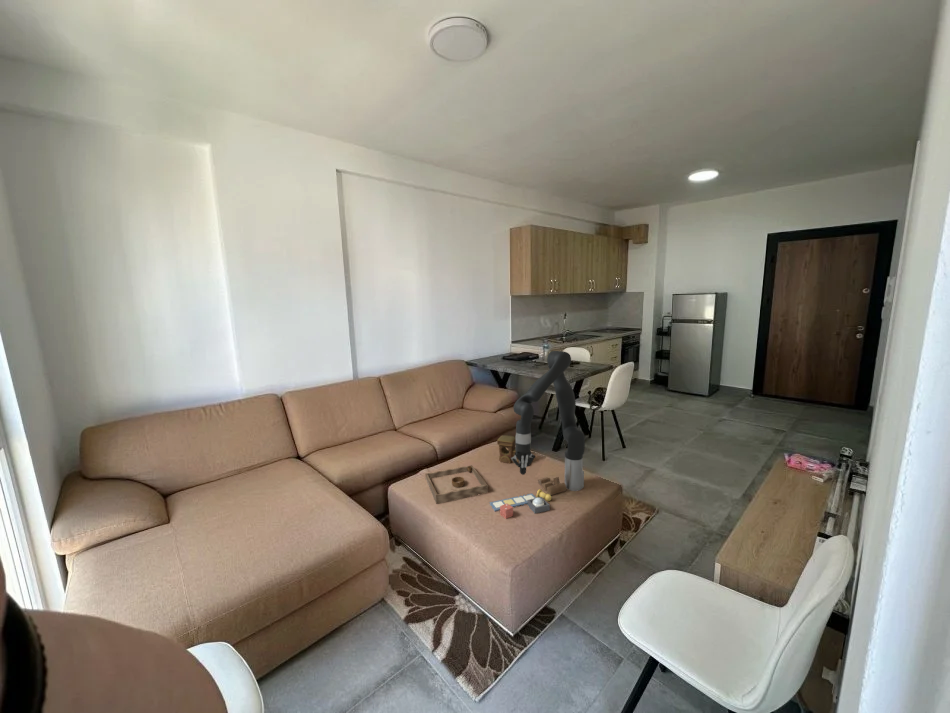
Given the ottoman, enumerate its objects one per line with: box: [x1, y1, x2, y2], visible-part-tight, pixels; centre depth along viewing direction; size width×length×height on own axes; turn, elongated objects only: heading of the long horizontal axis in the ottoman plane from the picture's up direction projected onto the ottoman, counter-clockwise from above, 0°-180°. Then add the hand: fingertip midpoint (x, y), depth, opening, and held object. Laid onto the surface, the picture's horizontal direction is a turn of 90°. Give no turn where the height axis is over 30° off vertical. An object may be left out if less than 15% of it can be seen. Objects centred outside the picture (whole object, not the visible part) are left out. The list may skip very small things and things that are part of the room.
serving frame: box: [424, 465, 489, 505], centre depth 207 cm, size 28×26×5 cm
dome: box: [533, 497, 544, 507], centre depth 185 cm, size 6×6×5 cm
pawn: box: [535, 488, 552, 502], centre depth 193 cm, size 4×4×7 cm
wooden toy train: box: [496, 434, 531, 467], centre depth 233 cm, size 20×11×17 cm, turn 66°
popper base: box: [527, 497, 551, 514], centre depth 185 cm, size 8×8×3 cm
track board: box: [489, 492, 537, 512], centre depth 190 cm, size 24×8×1 cm, turn 109°
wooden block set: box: [537, 476, 568, 496], centre depth 201 cm, size 18×9×10 cm
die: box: [499, 504, 514, 520], centre depth 180 cm, size 4×4×4 cm
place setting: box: [451, 465, 472, 491], centre depth 210 cm, size 18×20×6 cm
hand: (522, 473), depth 190 cm, fingers closed
